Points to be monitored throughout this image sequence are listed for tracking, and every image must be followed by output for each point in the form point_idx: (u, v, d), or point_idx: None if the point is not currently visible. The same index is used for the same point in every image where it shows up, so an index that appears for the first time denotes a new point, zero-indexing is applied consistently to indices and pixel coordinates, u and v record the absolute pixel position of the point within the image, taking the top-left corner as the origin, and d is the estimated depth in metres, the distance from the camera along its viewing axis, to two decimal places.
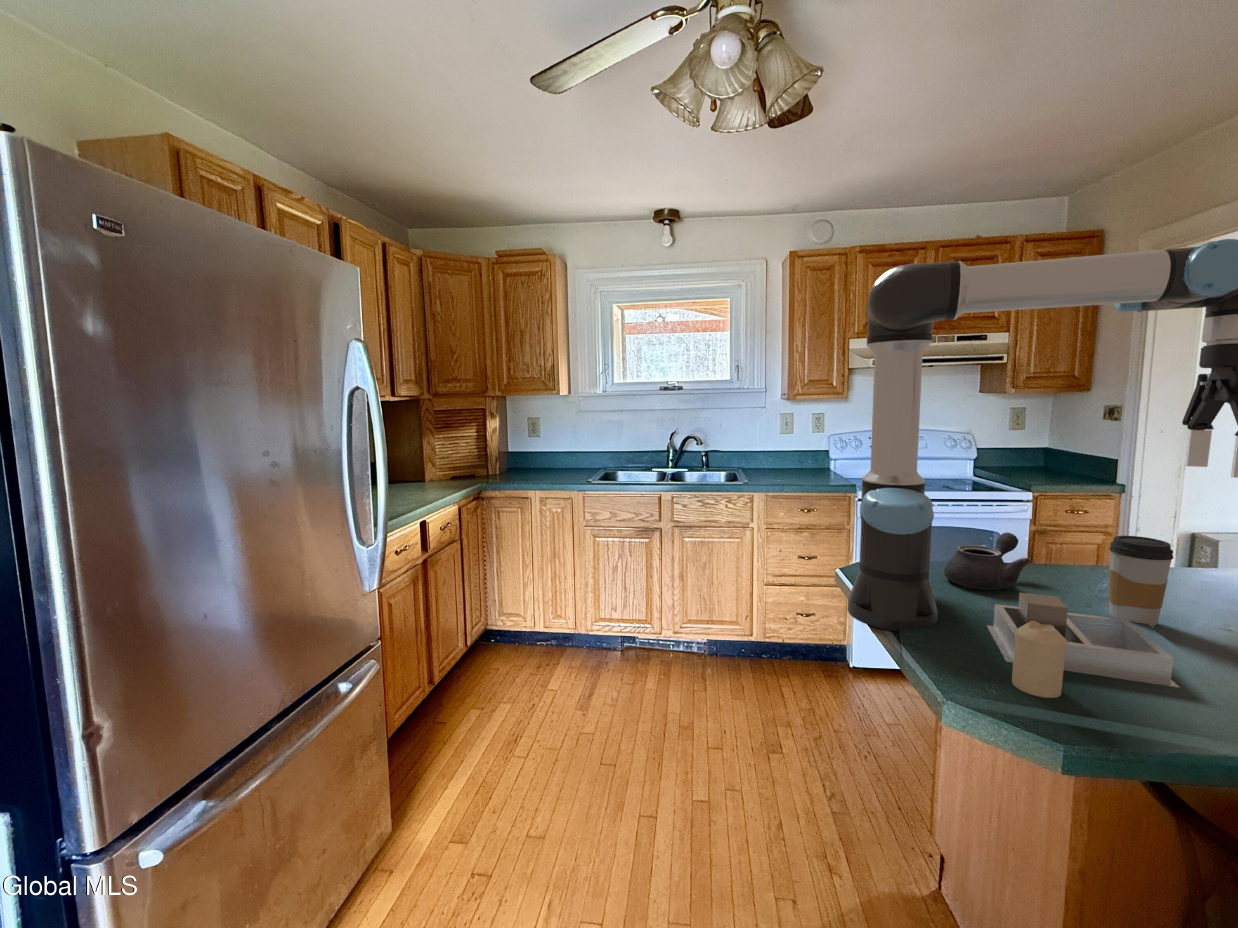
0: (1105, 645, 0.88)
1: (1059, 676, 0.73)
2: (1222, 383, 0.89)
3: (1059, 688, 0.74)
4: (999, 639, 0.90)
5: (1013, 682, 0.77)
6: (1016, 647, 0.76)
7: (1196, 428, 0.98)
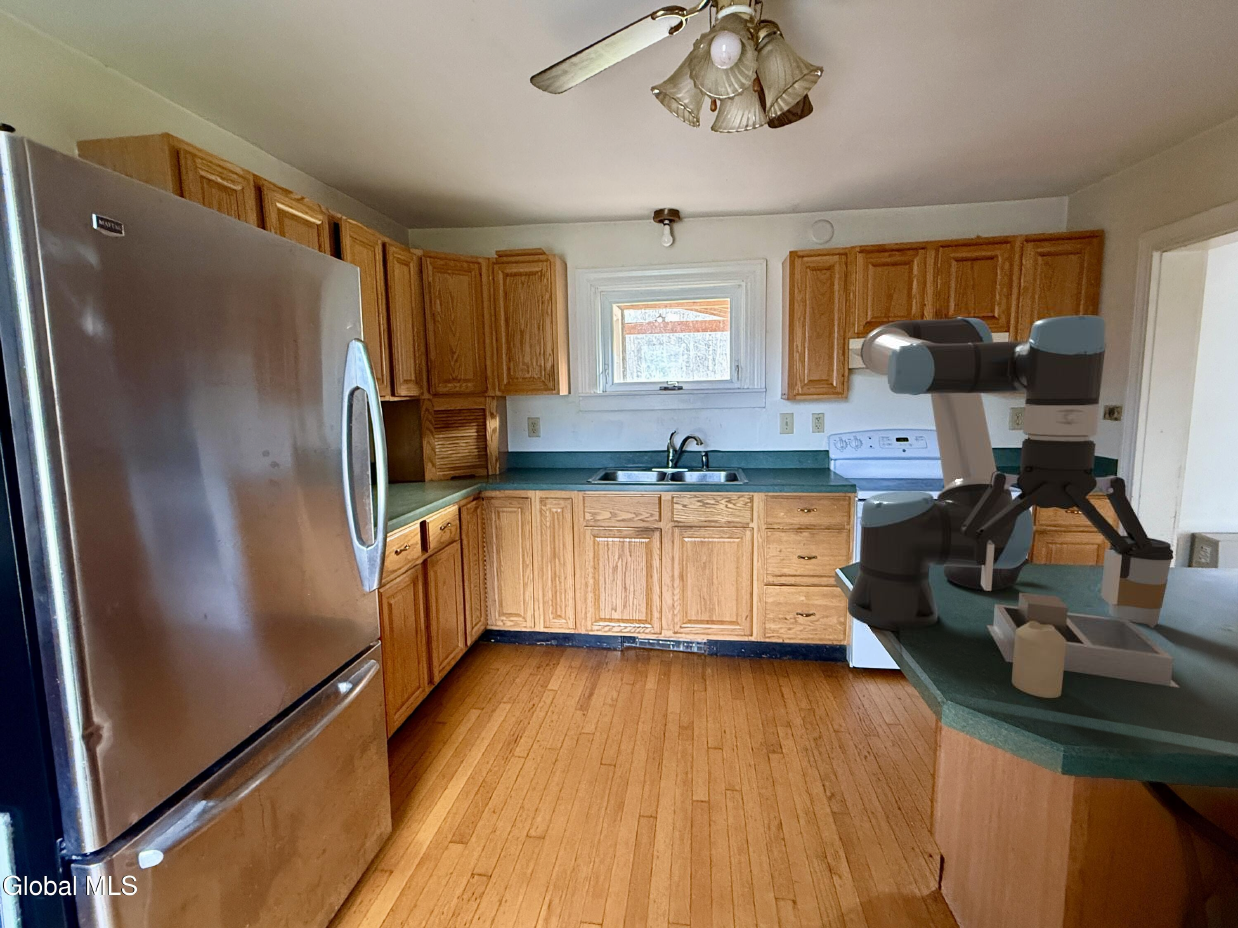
0: (1105, 645, 0.88)
1: (1059, 676, 0.73)
2: None
3: (1059, 688, 0.74)
4: (999, 639, 0.90)
5: (1013, 682, 0.77)
6: (1016, 647, 0.76)
7: (1115, 549, 0.71)
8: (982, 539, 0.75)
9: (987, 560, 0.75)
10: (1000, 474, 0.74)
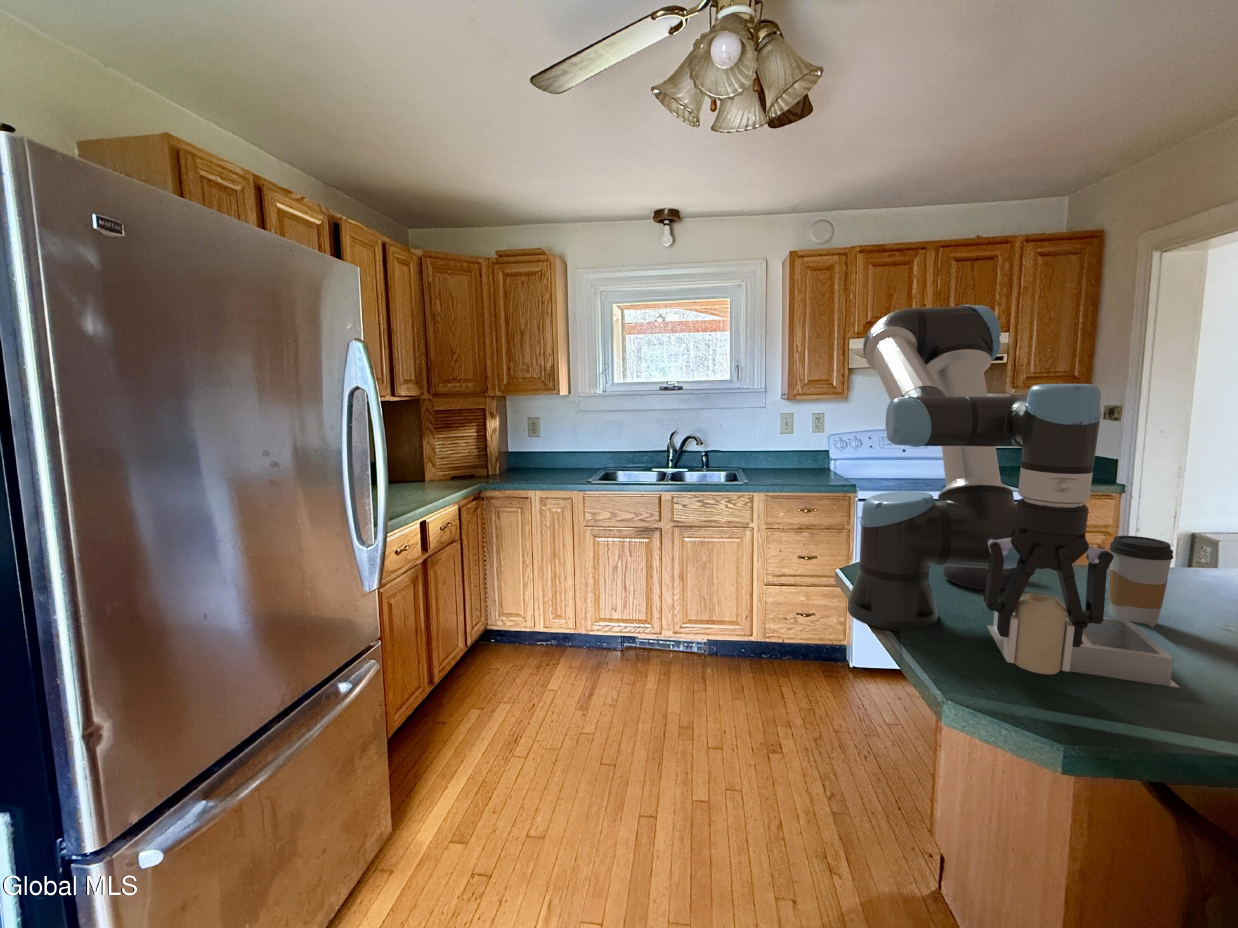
0: (1105, 645, 0.88)
1: (1059, 647, 0.73)
2: None
3: (1059, 659, 0.74)
4: (999, 639, 0.90)
5: None
6: None
7: (1069, 619, 0.74)
8: (1006, 613, 0.76)
9: (1011, 633, 0.76)
10: (993, 544, 0.75)
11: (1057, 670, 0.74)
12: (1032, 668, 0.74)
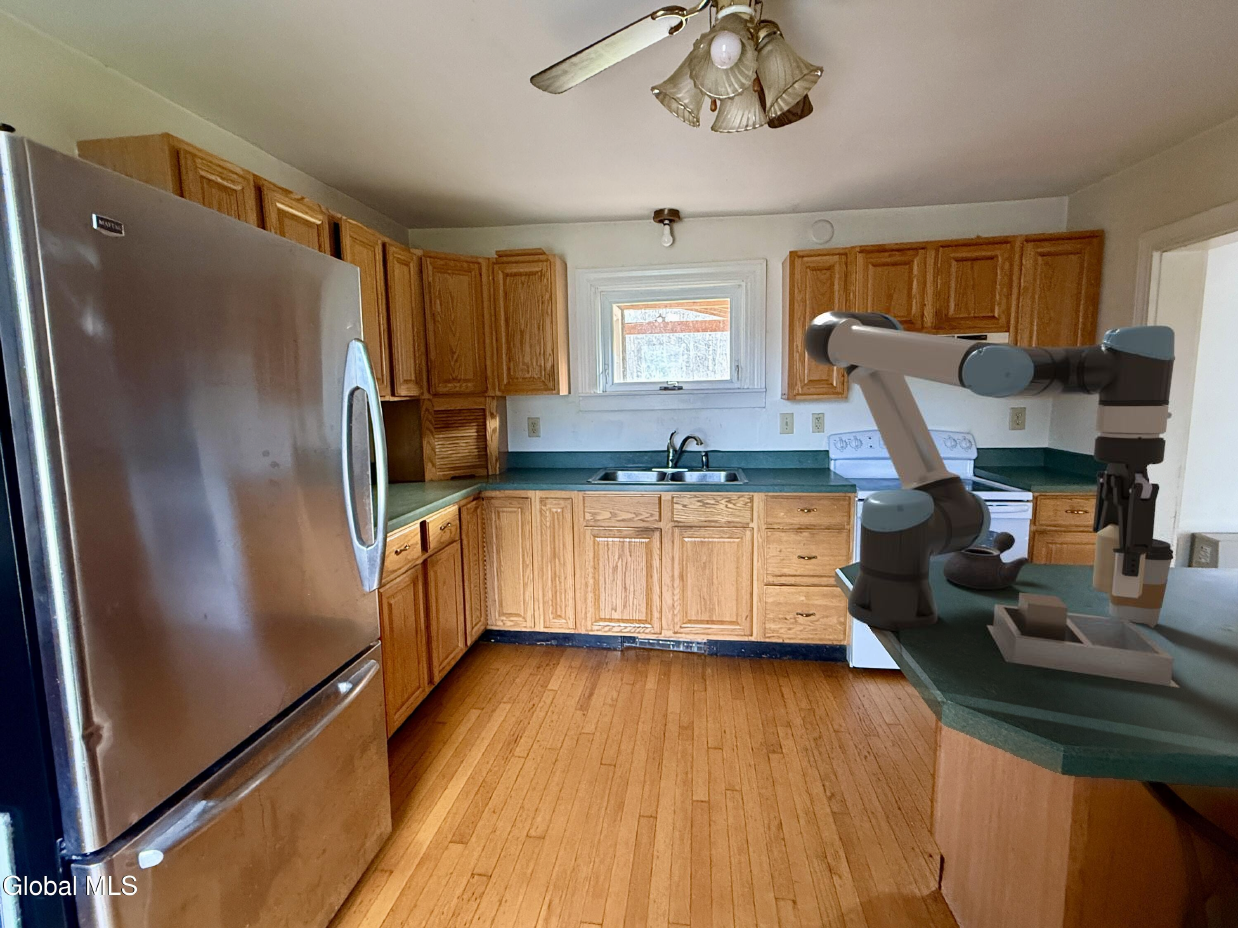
0: (1105, 645, 0.88)
1: None
2: (1115, 483, 0.79)
3: None
4: (999, 639, 0.90)
5: None
6: None
7: None
8: None
9: (1140, 568, 0.78)
10: (1158, 485, 0.74)
11: None
12: (1141, 591, 0.80)
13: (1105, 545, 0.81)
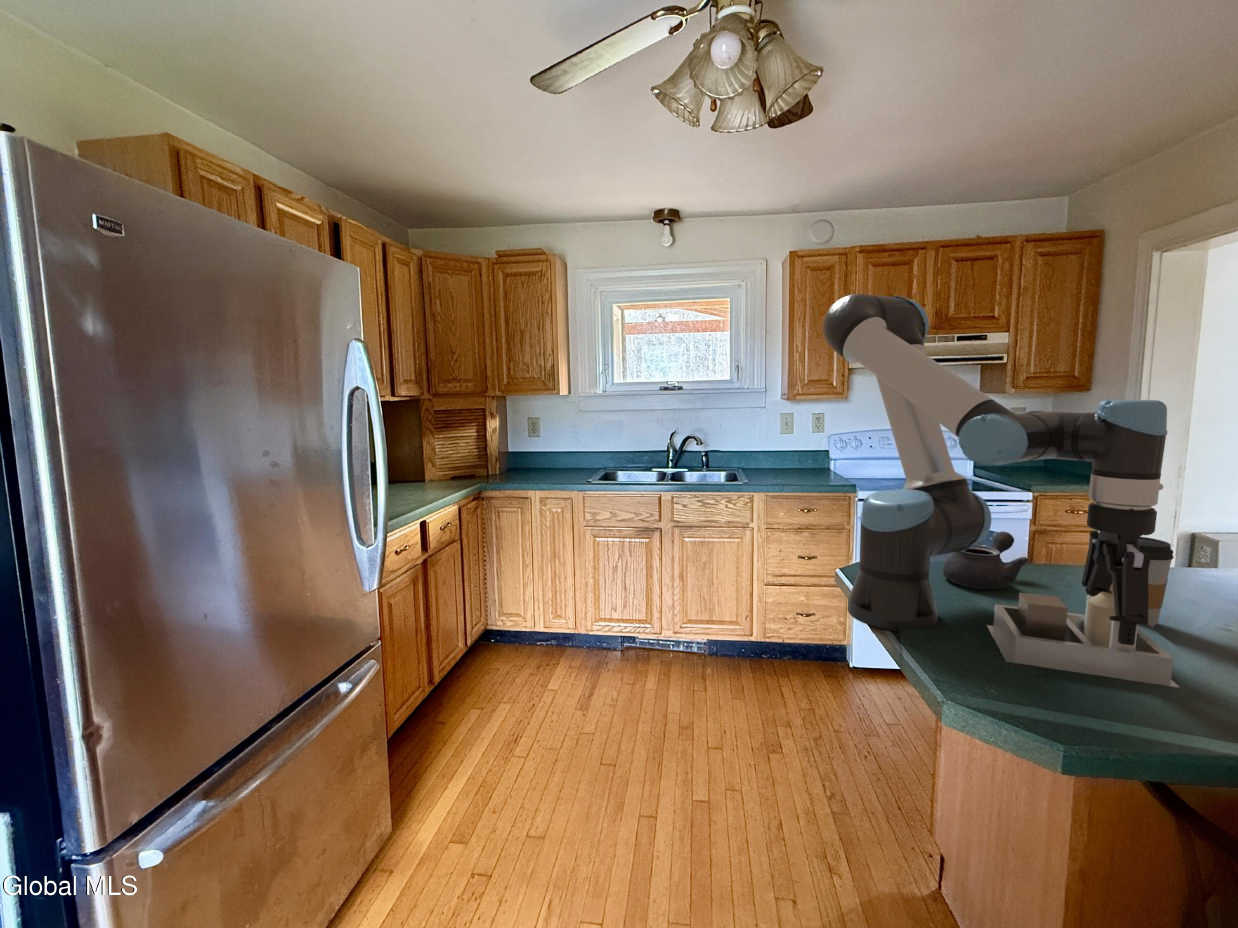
0: None
1: None
2: (1107, 551, 0.81)
3: None
4: (999, 639, 0.90)
5: None
6: None
7: (1094, 594, 0.88)
8: None
9: (1136, 636, 0.78)
10: (1149, 554, 0.75)
11: None
12: None
13: (1096, 613, 0.82)
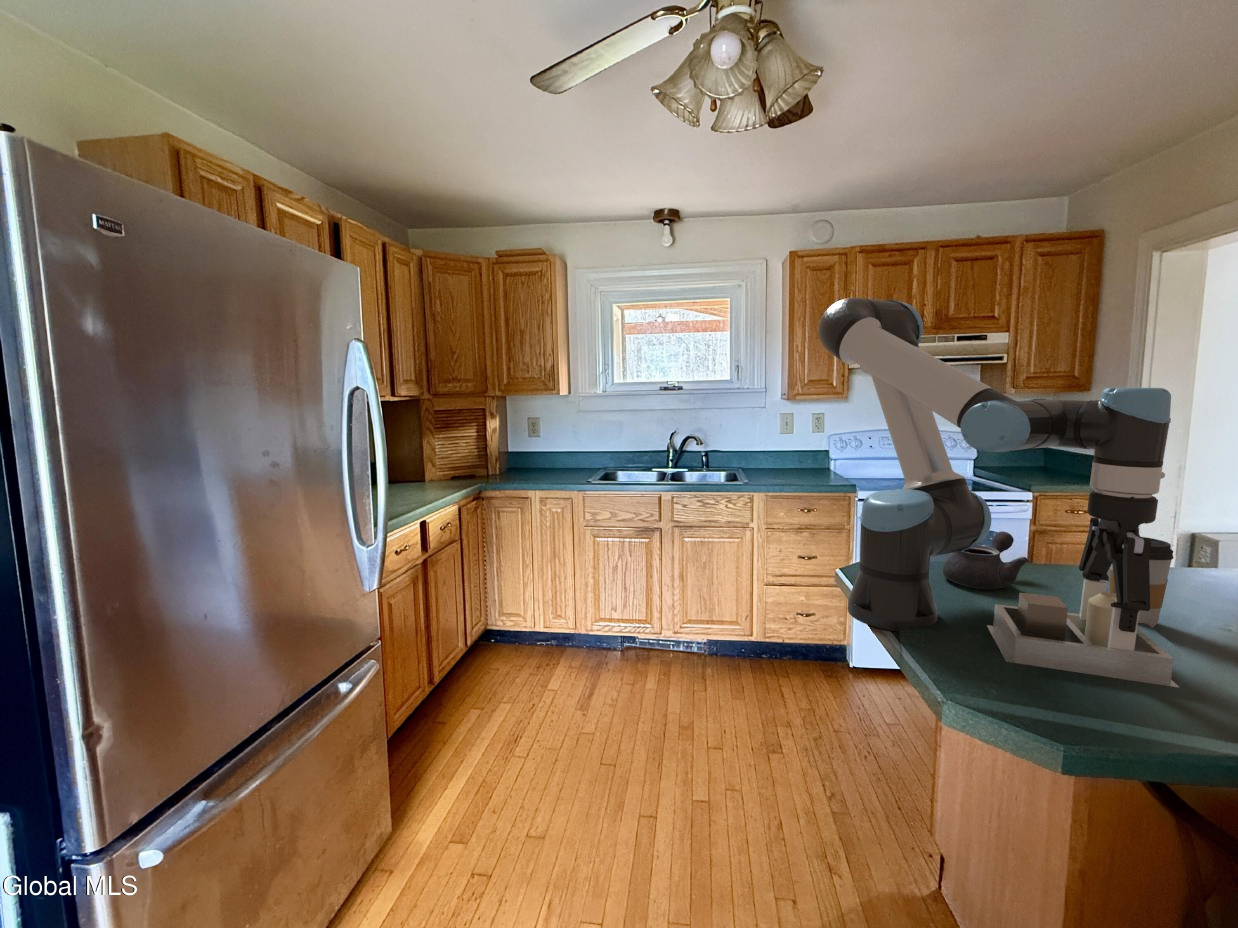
0: None
1: None
2: (1107, 538, 0.80)
3: None
4: (999, 639, 0.90)
5: None
6: None
7: (1091, 578, 0.88)
8: None
9: (1137, 624, 0.77)
10: (1149, 540, 0.75)
11: None
12: None
13: (1096, 613, 0.83)
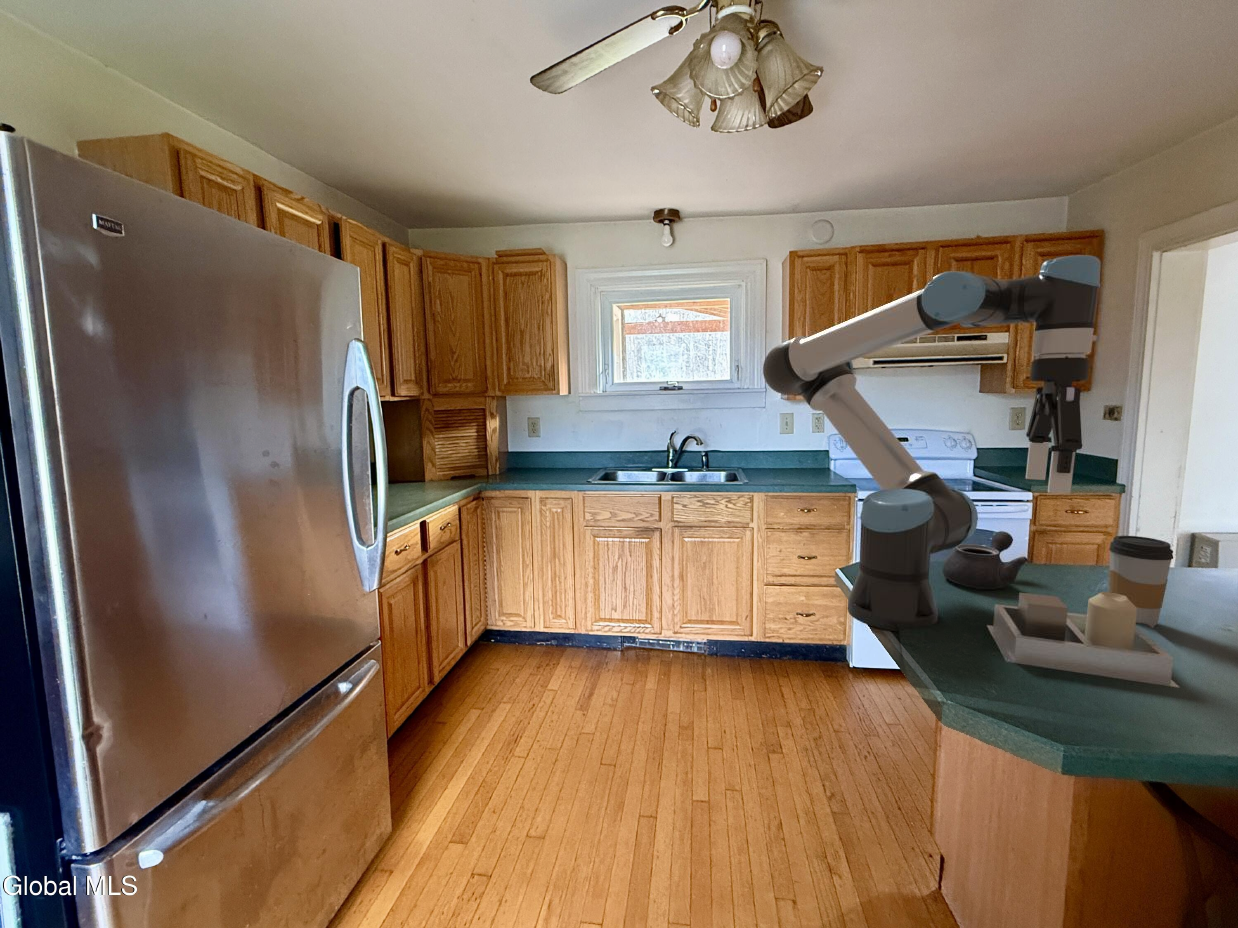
0: None
1: None
2: (1045, 398, 0.88)
3: None
4: (999, 639, 0.90)
5: None
6: (1122, 624, 0.80)
7: (1035, 441, 0.97)
8: (1077, 448, 0.83)
9: (1073, 466, 0.84)
10: (1079, 388, 0.83)
11: None
12: None
13: (1096, 613, 0.83)
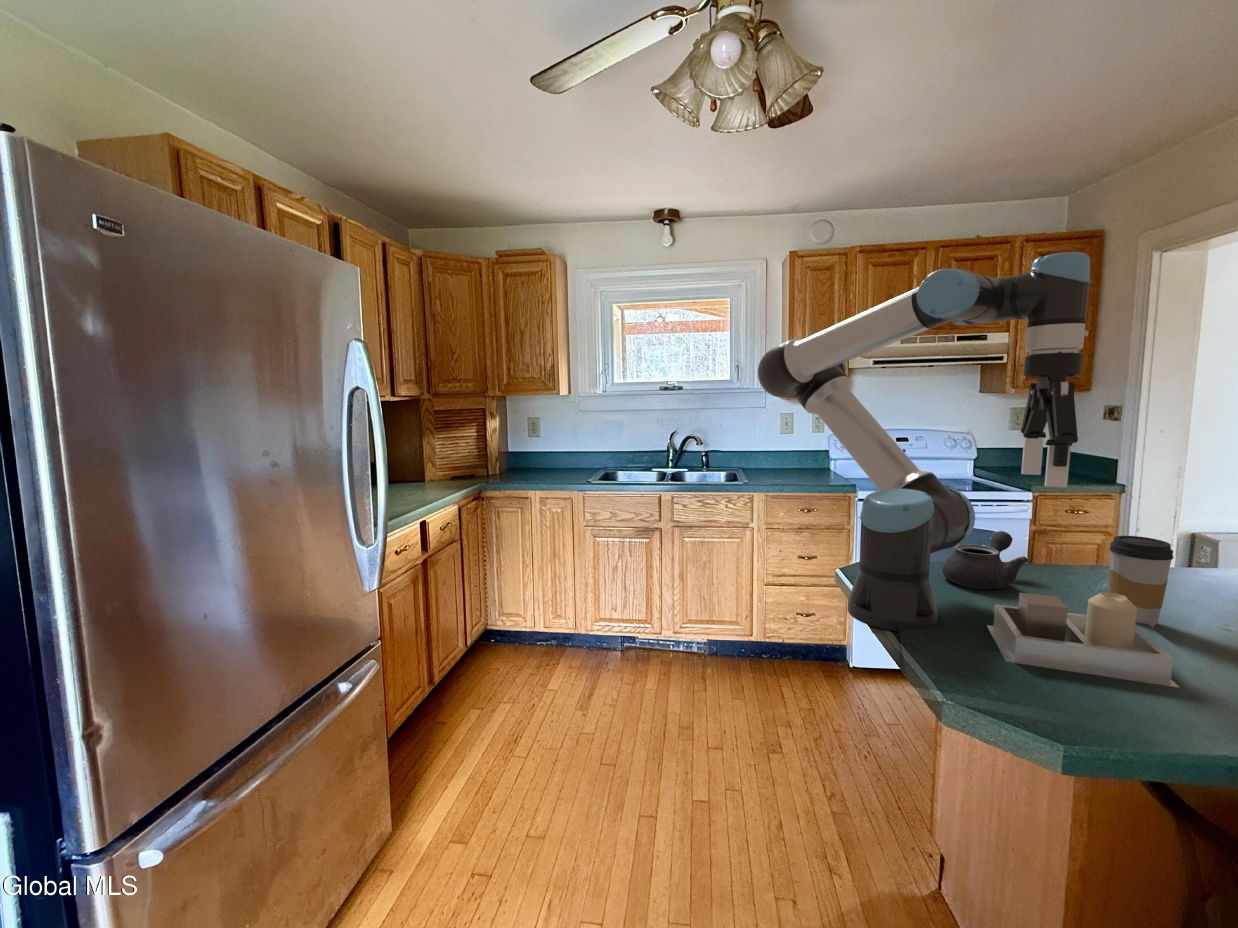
0: None
1: None
2: (1040, 393, 0.89)
3: None
4: (999, 639, 0.90)
5: None
6: (1122, 624, 0.80)
7: (1030, 436, 0.98)
8: None
9: (1069, 460, 0.85)
10: (1073, 382, 0.84)
11: None
12: None
13: (1096, 613, 0.83)
